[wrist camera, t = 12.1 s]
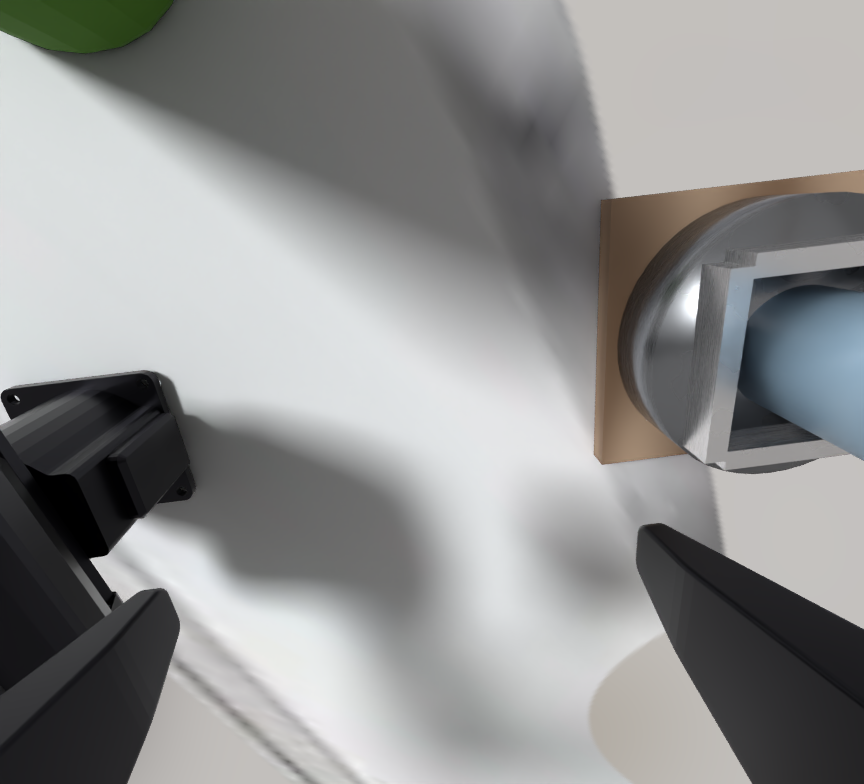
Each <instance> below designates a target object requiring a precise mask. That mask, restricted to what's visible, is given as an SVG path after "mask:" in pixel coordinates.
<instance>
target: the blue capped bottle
mask: <svg viewBox="0 0 864 784" xmlns="http://www.w3.org/2000/svg"><path fill="white" fill-rule="evenodd" d="M737 388H738V389H739V391H740V392H741V393H742V394H743V395H744V396H745V397H746V398H748V399H749V400H751V401H753V402H754V403H756V404H758V405H760V406H762V407H764V408H766V409H768V410H769V411H771V412H773V413H775V414H777V415H779V416H781V417H783V418H784V419H786V420H788V421H790V422H792V423H794V424H796V425H798V426H799V427H801V428H803V429H805V430H807V431H809V432H811V433H813V434H814V435H816V436H818V437H820V438H822V439H824V440H826V441H828V442H830V443H831V444H833V445H835V446H837V447H839V448H841V449H843V450H845V451H846V452H848V453H850V454H852V455H854V456H856V457H858V458H860V459H861V460H864V292H859V291H853V290H847V289H841V288H835V287H829V286H823V285H802V286H798V287H794V288H791V289H788V290H785V291H783V292H781V293H779V294H777V295H776V296H774V297H772V298H771V299H769V300H768V301H767V302H765V303H764V304H763V305H761V306H760V307H759V308H758V309H757V310H756V311H755V312H754V313H753V314H752V315H751V317H750V318H749V319H748V320H747V326H746V333H745V339H744V346H743V353H742V359H741V366H740V372H739V379H738V385H737Z"/></svg>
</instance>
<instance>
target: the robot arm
mask: <svg viewBox="0 0 864 784" xmlns="http://www.w3.org/2000/svg"><path fill="white" fill-rule="evenodd" d="M141 379H144V380H146V381H147V382H148V386H145V385H143V384H142V382H141ZM14 395H16V396H17V397H18V398H19V399H20V401H18V400H17V399H16V398H15V396H14ZM1 401H2V403H3V405H4V407H5V409H6V411H7V413H8V415H9V417H10V419H11V420H10V421H8V422H6V423H4V424H2V425H1V426H0V784H127V783H128V780H129V778H130V775H131V773H132V771H133V768H134V766H135V763H136V761H137V758H138V755H139V753H140V751H141V748H142V746H143V743H144V741H145V738H146V736H147V733H148V731H149V728H150V725H151V723H152V720H153V717H154V714H155V711H156V708H157V704H158V701H159V698H160V695H161V692H162V688H163V685H164V682H165V678H166V675H167V672H168V669H169V665H170V662H171V659H172V655H173V652H174V649H175V645H176V642H177V639H178V636H179V631H180V621H179V618H178V615H177V613H176V610H175V608H174V606H173V603H172V601H171V599H170V596H169V594H168V592H167V591H166V590H165V589H162V588H157V589H149V590H143V591H140V592H138V593H137V594H135V595H134V596H133V597H131V598H130V599H129V600H127V601H126V602H125V603H123V601H122V600H121V598H120V597H119V595H118V594H117V593H116V592H112V591H111V590H110V588H109V587H108V586H107V584H106V583H105V581H104V580H103V578H102V577H101V575H100V574H99V572H98V571H97V570H96V568H95V567H94V565H93V564H92V562H91V561H90V559H91V558H94V557H102V556H105V555H107V554H108V553H109V552H110V551H111V550H112V549H113V547H114V546H115V545H116V544H117V543H118V542H119V540H120V539H121V538H122V537H123V536H124V535H125V533H126V532H127V531H128V530H129V529H130V528H131V526H132V525H133V524H134V523H135V522H136V521H137V520H138V519H142V518H144V517H146V516H147V514H148V513H149V512H150V511H151V510H152V508H153V507H154V506H155V505H156V504H159V503H166V502H174V501H182V500H187V499H189V498H190V497H191V496H192V495H193V494H194V492H195V490H196V485H195V482H194V479H193V477H192V474H191V471H190V468H189V464H190V460H189V457H188V454H187V452H186V449H185V446H184V443H183V440H182V437H181V434H180V432H179V429H178V426H177V423H176V420H175V417H174V416H173V415H172V414H170V411H169V408H168V405H167V403H166V400H165V397H164V394H163V391H162V388H161V386H160V383H159V380H158V378H157V376H156V375H155V374H154V373H152V372H150V371H146V370H142V371H133V372H125V373H117V374H109V375H100V376H92V377H84V378H76V379H67V380H59V381H51V382H43V383H34V384H26V385H18V386H13V387H11V388H8V389H6V390H4V391H3V392H2V393H1ZM180 487H184V488H185V489H186V490H187V491H183V490H181V488H180ZM636 565H637V569H638V572H639V574H640V576H641V579H642V581H643V583H644V585H645V587H646V590H647V592H648V594H649V596H650V598H651V600H652V603H653V605H654V607H655V609H656V611H657V614H658V616H659V618H660V620H661V622H662V624H663V627H664V629H665V631H666V633H667V635H668V638H669V639H670V642H671V644H672V645H673V648H674V650H675V652H676V653H677V655H678V657H679V659H680V661H681V662H682V664H683V666H684V668H685V669H686V671H687V673H688V674H689V676H690V678H691V680H692V681H693V683H694V685H695V687H696V688H697V690H698V692H699V693H700V695H701V697H702V699H703V700H704V702H705V704H706V705H707V707H708V709H709V711H710V712H711V714H712V716H713V717H714V719H715V721H716V723H717V724H718V726H719V728H720V729H721V731H722V733H723V734H724V736H725V738H726V740H727V741H728V743H729V745H730V747H731V748H732V750H733V752H734V753H735V755H736V757H737V759H738V760H739V762H740V764H741V765H742V767H743V769H744V770H745V772H746V774H747V776H748V777H749V779H750V781H751V782H752V784H864V629H862V628H860V627H858V626H857V625H855V624H853V623H851V622H849V621H847V620H845V619H843V618H841V617H839V616H837V615H836V614H834V613H832V612H830V611H828V610H826V609H824V608H822V607H820V606H819V605H817V604H815V603H813V602H811V601H809V600H807V599H805V598H803V597H801V596H800V595H798V594H796V593H794V592H792V591H790V590H788V589H786V588H784V587H782V586H781V585H779V584H777V583H775V582H773V581H771V580H769V579H767V578H765V577H764V576H761V575H760V574H758V573H756V572H754V571H752V570H750V569H748V568H746V567H745V566H743V565H741V564H739V563H737V562H735V561H733V560H731V559H729V558H727V557H726V556H724V555H722V554H720V553H718V552H716V551H714V550H712V549H710V548H708V547H707V546H705V545H703V544H701V543H699V542H697V541H695V540H693V539H691V538H689V537H688V536H686V535H684V534H682V533H680V532H678V531H676V530H674V529H672V528H670V527H669V526H667V525H664V524H662V523H656V524H648V525H643V526H641V527H640V528H639V530H638V537H637V550H636Z"/></svg>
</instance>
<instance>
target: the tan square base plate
mask: <svg viewBox="0 0 864 784" xmlns="http://www.w3.org/2000/svg"><path fill="white" fill-rule="evenodd" d="M802 285H823V286H829V287H835V288H841V289H847V290H853V291H859V292H864V170H859V171H850V172H841V173H833V174H824V175H815V176H807V177H798V178H789V179H781V180H772V181H764V182H755V183H747V184H737V185H729V186H721V187H712V188H704V189H694V190H686V191H677V192H668V193H660V194H652V195H642V196H634V197H625V198H616V199H608V200H601V221H600V256H599V291H598V326H597V361H596V396H595V431H594V455H595V457H596V458H597V459H598V460H599V462H600V463H601V464H602V465H603V464H611V463H619V462H626V461H634V460H642V459H650V458H657V457H665V456H673V455H681V454H689V455H690V456H692V457H693V458H695V459H696V460H698V461H700V462H702V463H704V464H706V465H708V466H711V467H714V468H717V469H720V470H723V471H729V472H734V473H745V474H746V473H747V474H759V473H771V472H776V471H782V470H787V469H790V468H793V467H797V466H801V465H804V464H806V463H809V462H811V461H814V460H816V459H819V458H824V457H831V456H839V455H847V454H850V453H848V452H846V451H845V450H843V449H841V448H839V447H837V446H835V445H833V444H831V443H830V442H828V441H826V440H824V439H822V438H820V437H818V436H816V435H814V434H813V433H811V432H809V431H807V430H805V429H803V428H801V427H799V426H798V425H796V424H794V423H792V422H790V421H788V420H786V419H784V418H783V417H781V416H779V415H777V414H775V413H773V412H771V411H769V410H768V409H766V408H764V407H762V406H760V405H758V404H756V403H754V402H753V401H751V400H749V399H748V398H746V397H745V396H744V395H743V394H742V393H741V392H740V391H739V389H738V388H737V385H738V379H739V372H740V366H741V359H742V353H743V346H744V339H745V333H746V326H747V320H748V319H749V318H750V317H751V315H752V314H753V313H754V312H755V311H756V310H757V309H758V308H759V307H760V306H761V305H763V304H764V303H765V302H767V301H768V300H769V299H771V298H772V297H774V296H776V295H777V294H779V293H781V292H783V291H785V290H788V289H791V288H794V287H798V286H802Z"/></svg>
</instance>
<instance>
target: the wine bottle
mask: <svg viewBox="0 0 864 784" xmlns="http://www.w3.org/2000/svg"><path fill="white" fill-rule="evenodd" d="M172 3H173V0H0V31H3V32H5V33H7V34H9V35H12V36H14V37H17V38H19V39H22V40H24V41H27V42H30V43H32V44H35V45H37V46H40V47H42V48H45V49H48V50H57V51H66V52H75V53H84V54H85V53H93V52H98V51H103V50H108V49H113V48H118V47H123V46H125V45H127V44H128V43H130V42H132V41H133V40H135V39H137V38H139V37H140V36H142V35H144V34H145V33H147V32H149V31H150V30H151V29H152V28H153V27H154V26H155V24H156V23H157V22H158V21H159V20H160V18H161V17H162V16H163V15H164V14H165V12H166V11H167V10H168V9H169V8H170V6H171V5H172Z"/></svg>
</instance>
